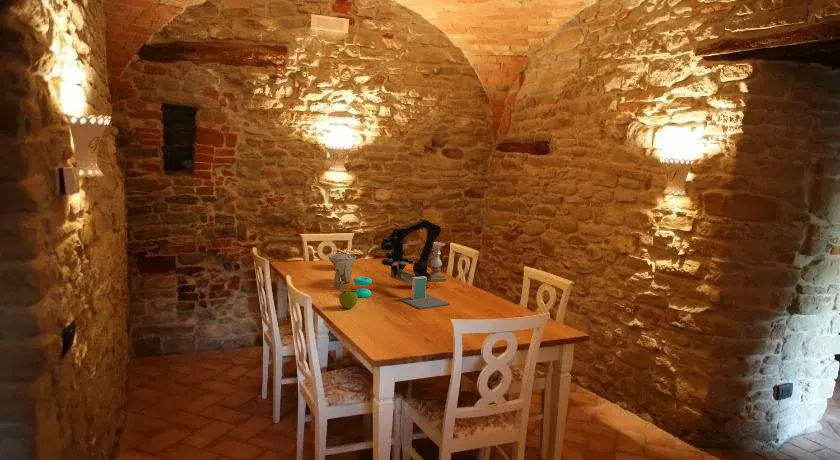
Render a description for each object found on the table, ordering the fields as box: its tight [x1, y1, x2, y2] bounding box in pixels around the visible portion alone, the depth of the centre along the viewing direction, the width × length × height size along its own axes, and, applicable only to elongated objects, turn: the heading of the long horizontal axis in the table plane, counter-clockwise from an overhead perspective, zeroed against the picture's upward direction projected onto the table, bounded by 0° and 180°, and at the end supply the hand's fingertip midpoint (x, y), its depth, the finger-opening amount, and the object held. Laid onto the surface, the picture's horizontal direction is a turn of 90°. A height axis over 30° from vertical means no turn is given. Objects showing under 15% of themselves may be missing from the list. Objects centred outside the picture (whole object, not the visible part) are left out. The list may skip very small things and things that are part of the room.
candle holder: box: [428, 241, 447, 283], centre depth 342 cm, size 11×11×24 cm
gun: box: [333, 260, 354, 290], centre depth 316 cm, size 24×3×15 cm, turn 168°
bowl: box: [327, 253, 357, 267], centre depth 359 cm, size 19×19×10 cm
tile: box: [411, 276, 427, 300], centre depth 290 cm, size 8×2×12 cm, turn 125°
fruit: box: [338, 288, 359, 309], centre depth 269 cm, size 9×9×10 cm
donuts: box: [353, 276, 373, 298], centre depth 293 cm, size 10×10×10 cm
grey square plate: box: [398, 294, 451, 310], centre depth 287 cm, size 20×20×1 cm
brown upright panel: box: [390, 267, 416, 286], centre depth 303 cm, size 2×22×6 cm, turn 35°
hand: (396, 276), depth 308 cm, fingers closed on brown upright panel, 2 cm apart
